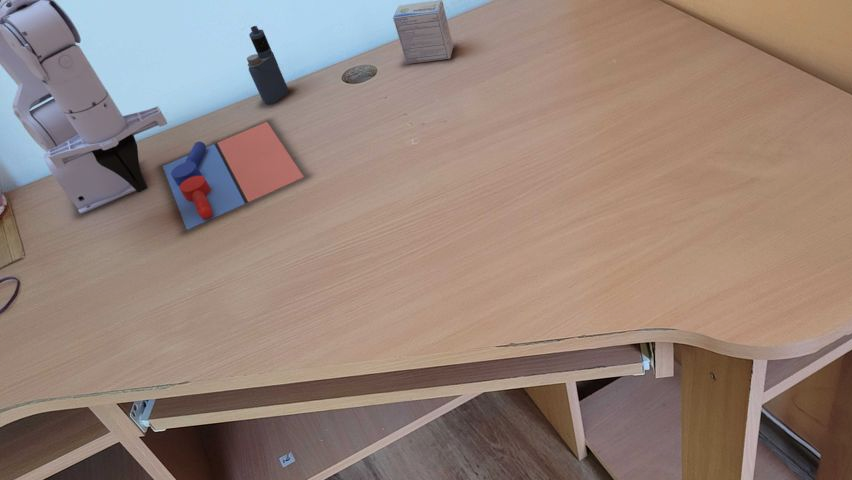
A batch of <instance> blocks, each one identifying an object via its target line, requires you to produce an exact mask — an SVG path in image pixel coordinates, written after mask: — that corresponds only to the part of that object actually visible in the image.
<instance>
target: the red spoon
mask: <svg viewBox="0 0 852 480" xmlns="http://www.w3.org/2000/svg"><path fill="white" fill-rule="evenodd" d="M180 191H181V192H182V194H183V196H184V197H185V199H186V200H188V201H193V202H194V204H195V207H196V209H197V211H198V214H199V216H200V217H201V218H204V219H207V218H210V217H211V215H212V209H211V207H210V205H209V203H208V200H207V198H206V195H207V194H208V193H209V192H210V186H209V185H208V183H207V181H206V179H205V178H204V177H203V176H193V177H190V178H188V179H186V180H185V181H183V182H182V183H181V185H180Z"/></svg>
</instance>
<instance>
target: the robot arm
mask: <svg viewBox="0 0 852 480" xmlns="http://www.w3.org/2000/svg"><path fill="white" fill-rule="evenodd" d="M81 42H82V39H81V35H80V33H79V31H78V29H77V27H76V25H75V24H74V22H73V21H72V18H71V17H70V16H69V15H68V14H67V12H66V11H65V10H64V8H63V7H61V5H59V3H58V2H56V0H0V66H1V68H3V70H4V71H5V72H6V73H7V75H8V76H9V77H10V78H11V79H12V80H13V82H14V83H15V84H16V85H17V89H16V93H15V95H14V98H13V101H12V110H13V113H14V115H15V116H16V117H17V119H18V120H19V122H21V125H22V126H23V128H24V130H25V131H26V132H27V133H28V135H29V136H30V137H31V138H32V139H33V141H34V142H35V143H36V144H37V145H38V146H39V147H40V148H41V149H42V150H43V151H44V152H45V153H44V154H43V159H44V162H45V164H46V166H47V168H48V170H49V171H50V173H51V175H52V177H53V178H54V179H55V181H56V182H57V183H58V185H59V187H61V188H62V190H63V191H64V192H65V194H66V195H67V197H68V198H69V199H70V201H71V202H72V203H73V204H74V206H75V207H76V208H77V211H78V213H79V214H82V215H83V214H85V213H87V212H90V211H93V210H94V209H96V208H99V207H102V206H104V205H106V204H108V203H111V202H113V201H115V200H118V199H120V198H123V197H125V196H128V195H129V194H131V193H134V192H137V193H141V192H143V191H145V190H147V189H148V188H149V187H148V184H147V182H146V180H145V178H144V176H143V174H142V171H141V165H140V160H139V150H138V143H137V141H136V137H135V136H136V135H138V134H141V133H143V132H145V131H146V132H147V131H148V130H150V129H153V128H156V127H158V126H159V128H160V127H164V126H167V125H168V121H167V119H166V117H165V115H164V114H163V112H162V110H161V108H160V107H159V105H158V106H155V107H151V108H148V109H146V110H140V111H138V112H133V113H129V114H125V115H123V114H122V113H121V110H120V109H119V107H118V106H117V104H116V103H115V101H114V99H113V97H112V96H111V94H110V93H109V92H108V89H107V88H106V87H105V85H104V84H103V82H102V81H101V79H100V77H99V76H98V74H97V72H96V71H95V69H94V67H93V66H92V64H91V63H90V61H89V60H88V58H87V56H86V54H85V53H84V52H83V50H82V48H81V47H80V45H78V44H80V43H81ZM50 98H51V99H50ZM49 99H50V100H49ZM45 101H46V102H45ZM43 102H44V103H43ZM36 106H37V107H36ZM32 108H33V109H32Z"/></svg>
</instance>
